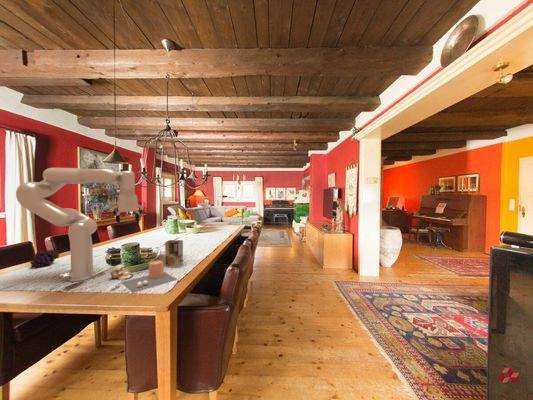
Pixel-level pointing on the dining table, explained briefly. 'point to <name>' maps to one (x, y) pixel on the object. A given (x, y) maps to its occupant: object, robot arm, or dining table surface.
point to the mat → (151, 282)
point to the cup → (156, 269)
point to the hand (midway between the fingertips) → (127, 221)
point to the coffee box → (174, 253)
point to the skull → (120, 273)
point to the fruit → (44, 258)
